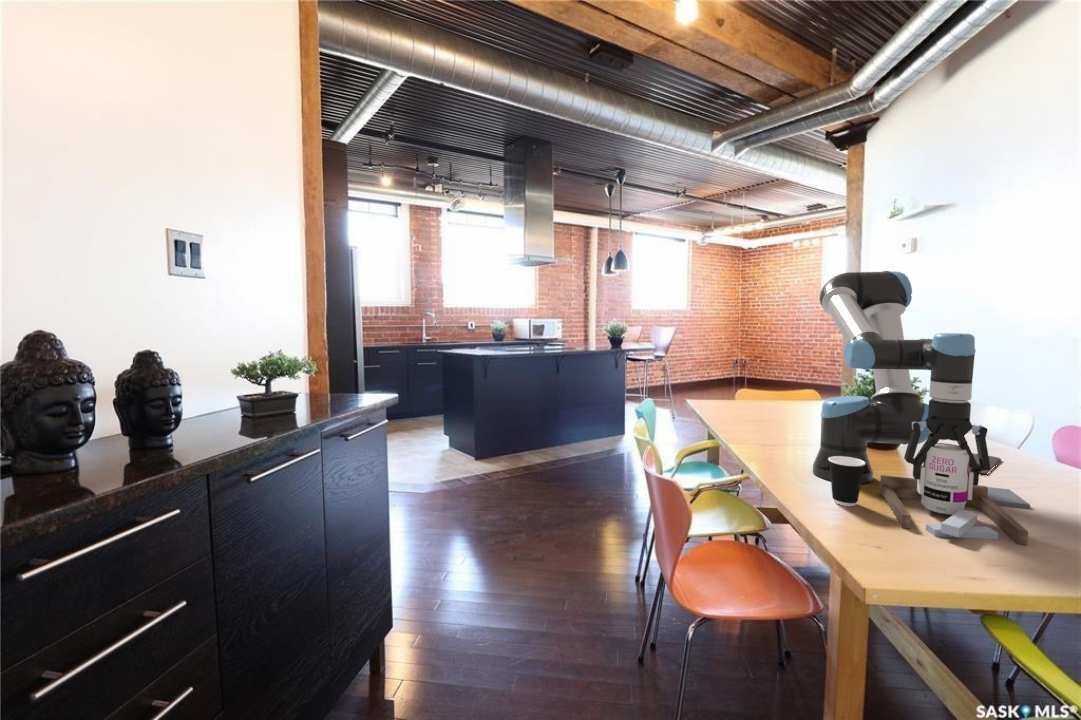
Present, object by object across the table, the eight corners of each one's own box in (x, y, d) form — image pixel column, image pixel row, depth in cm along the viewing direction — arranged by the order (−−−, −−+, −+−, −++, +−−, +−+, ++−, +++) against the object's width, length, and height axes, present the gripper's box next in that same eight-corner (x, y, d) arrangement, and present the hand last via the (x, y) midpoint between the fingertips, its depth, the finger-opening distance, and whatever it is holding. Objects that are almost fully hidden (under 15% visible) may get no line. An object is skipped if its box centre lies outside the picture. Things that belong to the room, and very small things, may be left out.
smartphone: (934, 464, 154) (954, 450, 170) (934, 469, 154) (953, 454, 170) (987, 474, 145) (1002, 457, 160) (986, 479, 145) (1002, 462, 161)
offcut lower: (934, 538, 106) (934, 529, 105) (925, 532, 109) (926, 523, 108) (997, 542, 104) (998, 532, 104) (987, 536, 107) (987, 527, 107)
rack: (900, 527, 110) (901, 505, 109) (879, 493, 131) (880, 475, 131) (1028, 545, 101) (1030, 521, 100) (984, 505, 122) (985, 486, 122)
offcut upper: (958, 537, 102) (959, 527, 102) (940, 532, 104) (941, 522, 104) (976, 523, 109) (977, 514, 108) (959, 518, 111) (960, 510, 111)
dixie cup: (871, 508, 121) (873, 464, 120) (839, 509, 120) (841, 465, 120) (849, 497, 129) (851, 455, 128) (819, 498, 128) (821, 456, 127)
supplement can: (955, 504, 120) (959, 443, 118) (972, 517, 112) (977, 452, 111) (915, 500, 122) (919, 441, 121) (929, 513, 115) (933, 449, 113)
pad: (966, 501, 125) (967, 497, 125) (951, 486, 136) (951, 483, 136) (1029, 508, 120) (1030, 504, 120) (1008, 492, 131) (1009, 489, 131)
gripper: (898, 399, 116) (893, 494, 118) (1016, 405, 107) (1008, 507, 109) (891, 394, 123) (886, 484, 125) (1002, 400, 114) (994, 496, 116)
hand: (943, 495), depth 117 cm, fingers closed on supplement can, 8 cm apart
